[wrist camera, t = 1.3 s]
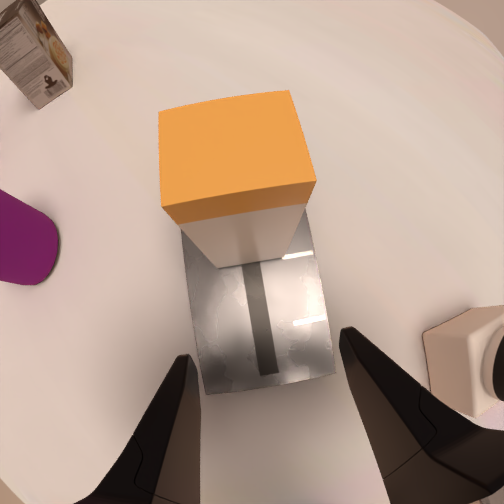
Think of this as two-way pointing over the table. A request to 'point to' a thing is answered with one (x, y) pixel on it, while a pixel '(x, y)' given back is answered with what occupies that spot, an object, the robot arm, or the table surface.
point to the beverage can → (25, 242)
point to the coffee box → (33, 53)
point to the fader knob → (236, 175)
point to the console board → (259, 318)
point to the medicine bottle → (468, 360)
